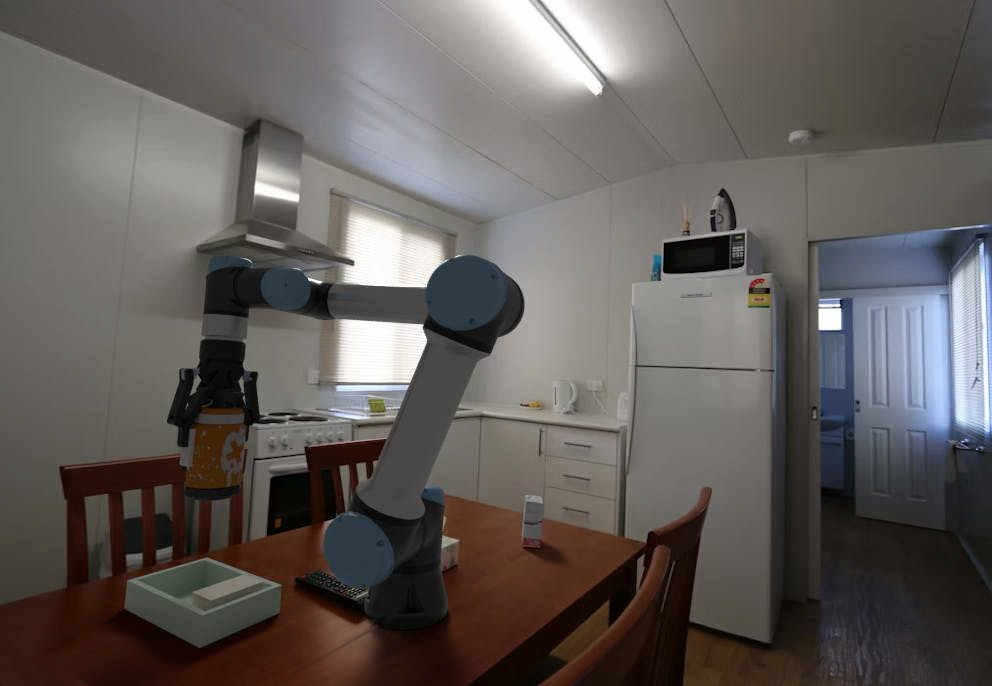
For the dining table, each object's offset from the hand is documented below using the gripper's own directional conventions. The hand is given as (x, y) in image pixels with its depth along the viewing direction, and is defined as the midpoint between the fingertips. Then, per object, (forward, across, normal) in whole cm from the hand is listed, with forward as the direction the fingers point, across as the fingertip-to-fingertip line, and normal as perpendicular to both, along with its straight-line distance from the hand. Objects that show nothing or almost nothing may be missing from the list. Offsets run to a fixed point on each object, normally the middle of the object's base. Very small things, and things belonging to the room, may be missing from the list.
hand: (212, 462), depth 93 cm
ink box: (+26, -71, +31) cm, 82 cm away
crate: (+25, +2, +4) cm, 26 cm away
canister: (+6, 0, 0) cm, 6 cm away
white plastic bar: (+25, +1, +10) cm, 27 cm away
